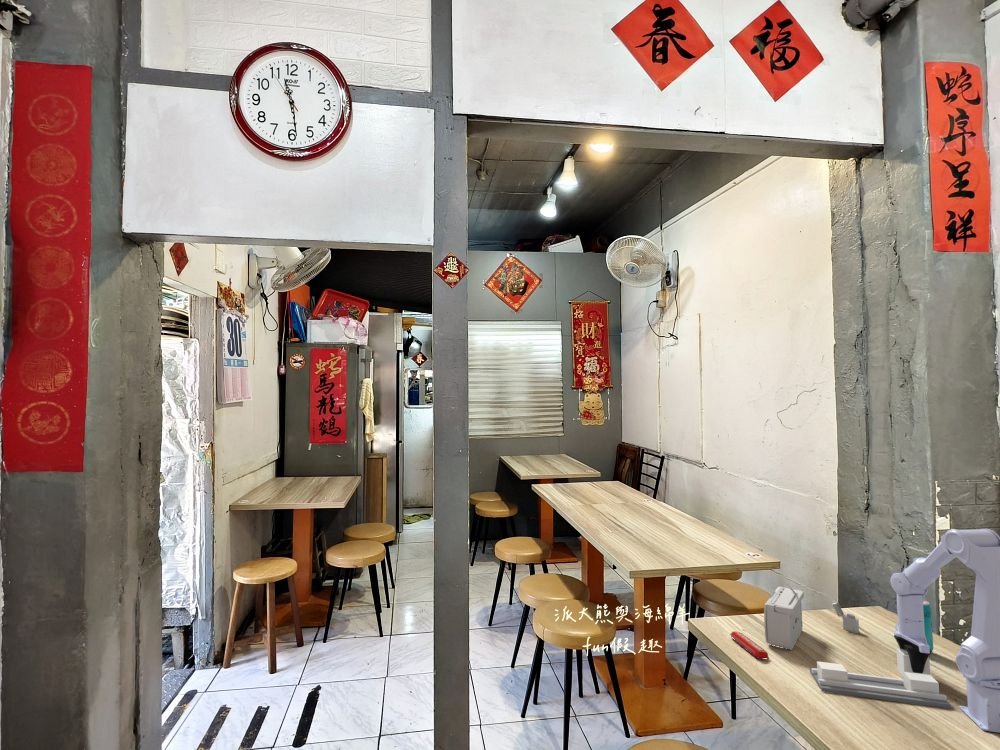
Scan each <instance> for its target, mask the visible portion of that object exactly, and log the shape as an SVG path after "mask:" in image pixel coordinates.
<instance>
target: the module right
mask: <svg viewBox="0 0 1000 750" xmlns="http://www.w3.org/2000/svg"><path fill="white" fill-rule="evenodd" d="M902 679H903V682H904V686H905V688H906V689H907V690H911V691H918V692H926V693H934V694H939V693H940V687H939V686H940V685H939V682H938V681H937V680H936V679H935V678H934V677H933V676H932V675H931V674H930V675H926V674H918V673H909V672H903V677H902Z"/></svg>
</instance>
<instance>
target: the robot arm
mask: <svg viewBox="0 0 1000 750" xmlns="http://www.w3.org/2000/svg"><path fill="white" fill-rule="evenodd" d="M928 554H929V555H928V556H926V557H914V558H913V559H912V563H911V564H910V565H909V566H907V567H905V568H904V569H903V571H902V572H894V573H892V575H891V577H890V580H889V581H890V586H891V589H892V590H893V591H894V592H895V593H896V608H897V609H896V610H897V622H896V623H895V630H894V631H893V638H894V639H895V641H896V643H897V645H898V647H899V649H906V650H907V652H908V655H909V658H910V663H911V668H912V671H913V672H914V673H921V674H923V671H924V667H925V663H926V661H927V659H928V657H929V658H930V656H931V654H932V652H933V651H931V650H930V646H929V645H928V644H927V640H926V636H925V629H924V612H923V602H924V601H926V595H927V594H928V592H929V586H930V585H931V584H932V583H933V582H934V581H936V580H937V579H938V578H939V577H940V576H941V574H942V572H941V569H942V568H943V567H945V565H947V564H949V563H950V562H952V561H953V560H954V559H956V558H957V560H959V561H960V562H962V564H963V565H964V566H965V567H967V568H968V569H970V570H972V571H973V572H974V573H975V584H974V586H975V587H974V597H973V608H972V619H971V630H970V636H969V637H968V638H967V639H965V640H964V641H963V642H962V643H961V644H960V649H959V651H958V652H957V653H956V656H955V664H956V667H957V668H958V671H960V673H961V675H962V677H963V678H964V679H966V680H965V681H966V694H967V695H966V697H967V698H966V699H967V706H965V705H959V709H960V710H961V711H962V712H963V713H965V715H966V716H968V717H969V719H971V721H973V723H975V724H976V725H977V727H979V729H981V730H983V731H985V732H986V731H987V732H990V733H991V732H992V733H1000V535H999V534H998V533H997V532H996V531H994V530H992V529H989V528H980V529H956V528H953V529H948V530H947V531H946V532H945V533H944V534H943V535H941V536H940V542H939V543H938V544H937V545H936V547H934V548H933V550H932V551H931V552H930V553H928Z"/></svg>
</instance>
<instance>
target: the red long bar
mask: <svg viewBox="0 0 1000 750" xmlns="http://www.w3.org/2000/svg"><path fill="white" fill-rule="evenodd" d="M729 635H730V637H731V638H732V637H733V638H734V639H735V640H736V641H737V642H738V643H739V645H740V644H741V645H742V646H743V647H742V646H741V645H740V646H741V647H742V648H744V649H745V648H746V649H747V650H748V651H747V650H746V649H745V650H746V651H747V652H748V653H750V652H751V653H752V655H753V656H754V657H755V656H756V657H755V658H757V657H758V658H757V659H760V658H767V660H770V657H769V653H768V652H767V651H766V650H765V649H764V648H762V646H760V645H758V644H757V643H755V641H754V640H751V638H749V637H748V636H747V635H745V634H744V633H742V632H739V631H731V633H730V634H729ZM733 638H732V639H733ZM734 639H733V640H734ZM735 640H734V641H735ZM736 641H735V642H736ZM737 642H736V643H737ZM738 643H737V644H738ZM751 653H750V654H751Z"/></svg>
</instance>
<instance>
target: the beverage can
mask: <svg viewBox="0 0 1000 750" xmlns="http://www.w3.org/2000/svg"><path fill="white" fill-rule="evenodd" d="M931 607H932V606H930V602H929V601H927V600H925V601H924V602H923V612H924V629H925V636H926V640H927V644H928V645H929V646H930V650H931V651H932V652H934V639H933V638H934V637H933V635H934V634H933V621H932V620H933V619H932V608H931Z"/></svg>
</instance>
